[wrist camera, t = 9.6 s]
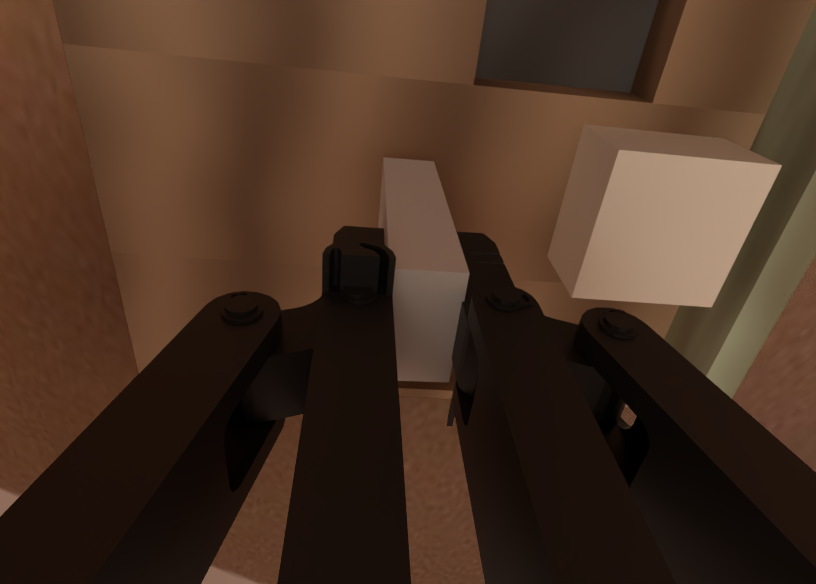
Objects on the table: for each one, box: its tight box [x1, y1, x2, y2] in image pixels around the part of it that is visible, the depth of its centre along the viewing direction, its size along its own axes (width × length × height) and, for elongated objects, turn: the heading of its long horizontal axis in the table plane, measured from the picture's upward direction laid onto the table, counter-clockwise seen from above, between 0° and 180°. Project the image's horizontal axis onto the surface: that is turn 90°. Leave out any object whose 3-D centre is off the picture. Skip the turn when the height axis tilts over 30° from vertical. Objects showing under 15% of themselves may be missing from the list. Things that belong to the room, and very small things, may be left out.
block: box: [547, 124, 782, 307], centre depth 17 cm, size 5×5×3 cm
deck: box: [53, 0, 816, 407], centre depth 18 cm, size 24×20×5 cm
